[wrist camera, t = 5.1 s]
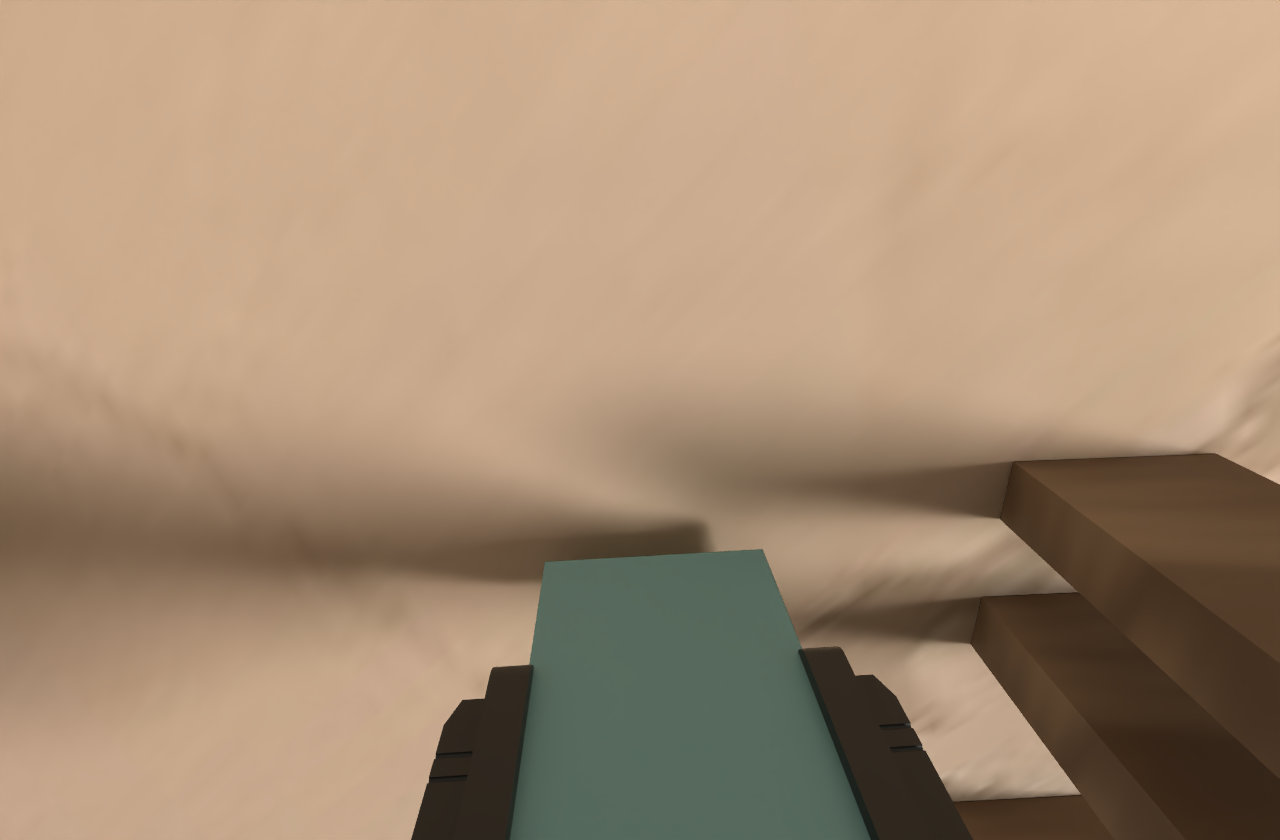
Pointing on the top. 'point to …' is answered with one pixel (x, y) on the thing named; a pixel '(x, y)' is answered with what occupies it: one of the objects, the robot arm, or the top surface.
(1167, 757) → the domino
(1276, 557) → the domino
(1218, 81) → the top surface
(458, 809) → the robot arm
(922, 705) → the top surface
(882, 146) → the top surface
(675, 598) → the domino
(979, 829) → the domino
